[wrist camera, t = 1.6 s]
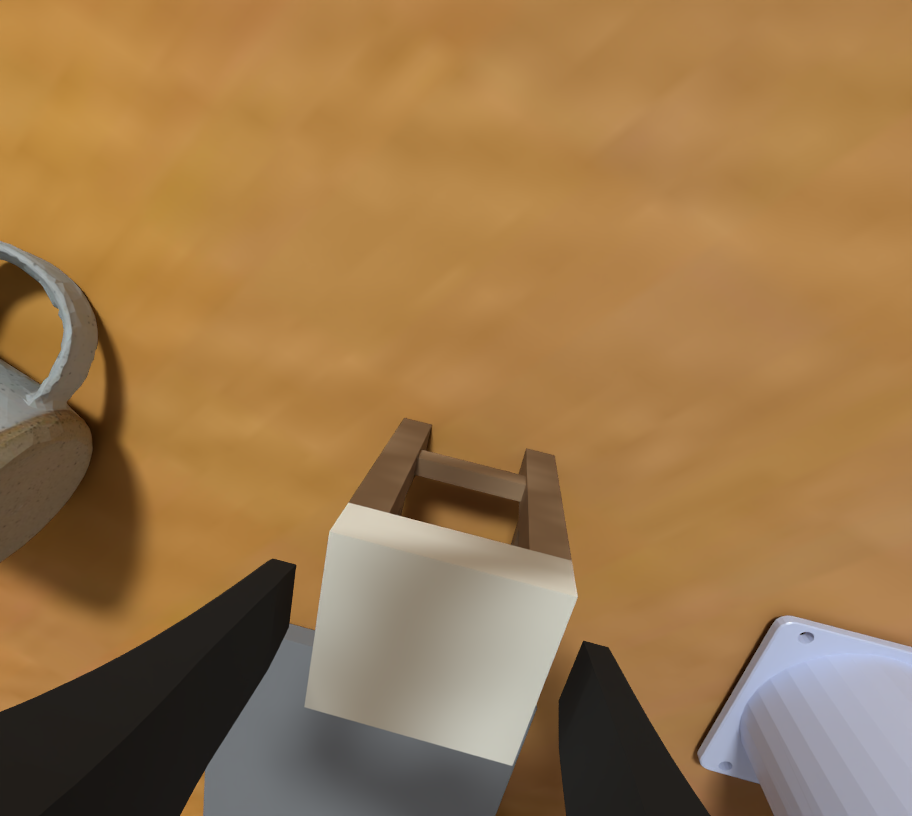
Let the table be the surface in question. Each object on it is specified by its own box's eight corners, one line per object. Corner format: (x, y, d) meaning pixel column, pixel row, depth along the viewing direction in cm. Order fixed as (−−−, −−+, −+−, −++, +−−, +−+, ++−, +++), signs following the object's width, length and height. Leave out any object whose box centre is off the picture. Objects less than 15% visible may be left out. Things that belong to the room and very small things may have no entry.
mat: (536, 691, 20) (536, 708, 19) (464, 879, 25) (462, 899, 24) (222, 605, 21) (211, 618, 20) (212, 804, 26) (203, 821, 25)
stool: (554, 455, 16) (577, 596, 10) (515, 578, 18) (512, 765, 12) (404, 417, 17) (329, 531, 10) (380, 543, 19) (304, 707, 12)
